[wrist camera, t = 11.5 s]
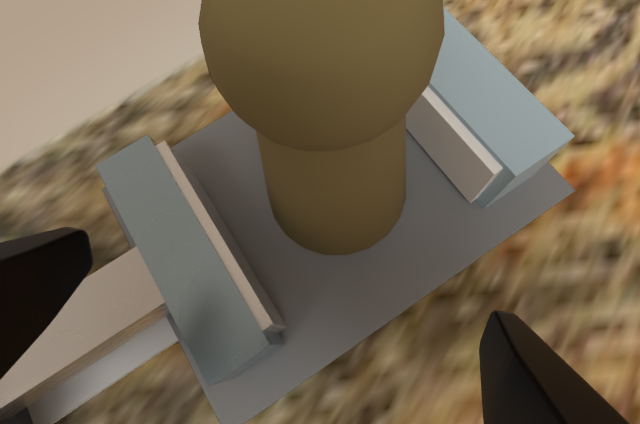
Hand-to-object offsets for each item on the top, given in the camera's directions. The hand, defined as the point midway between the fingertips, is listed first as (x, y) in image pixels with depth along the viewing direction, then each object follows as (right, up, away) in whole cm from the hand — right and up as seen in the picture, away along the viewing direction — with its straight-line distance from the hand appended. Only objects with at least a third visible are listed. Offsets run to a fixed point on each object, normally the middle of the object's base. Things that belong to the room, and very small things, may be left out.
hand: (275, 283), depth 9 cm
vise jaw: (-8, -3, +7) cm, 11 cm away
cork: (+2, +3, +9) cm, 10 cm away
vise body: (-2, 0, +9) cm, 9 cm away
